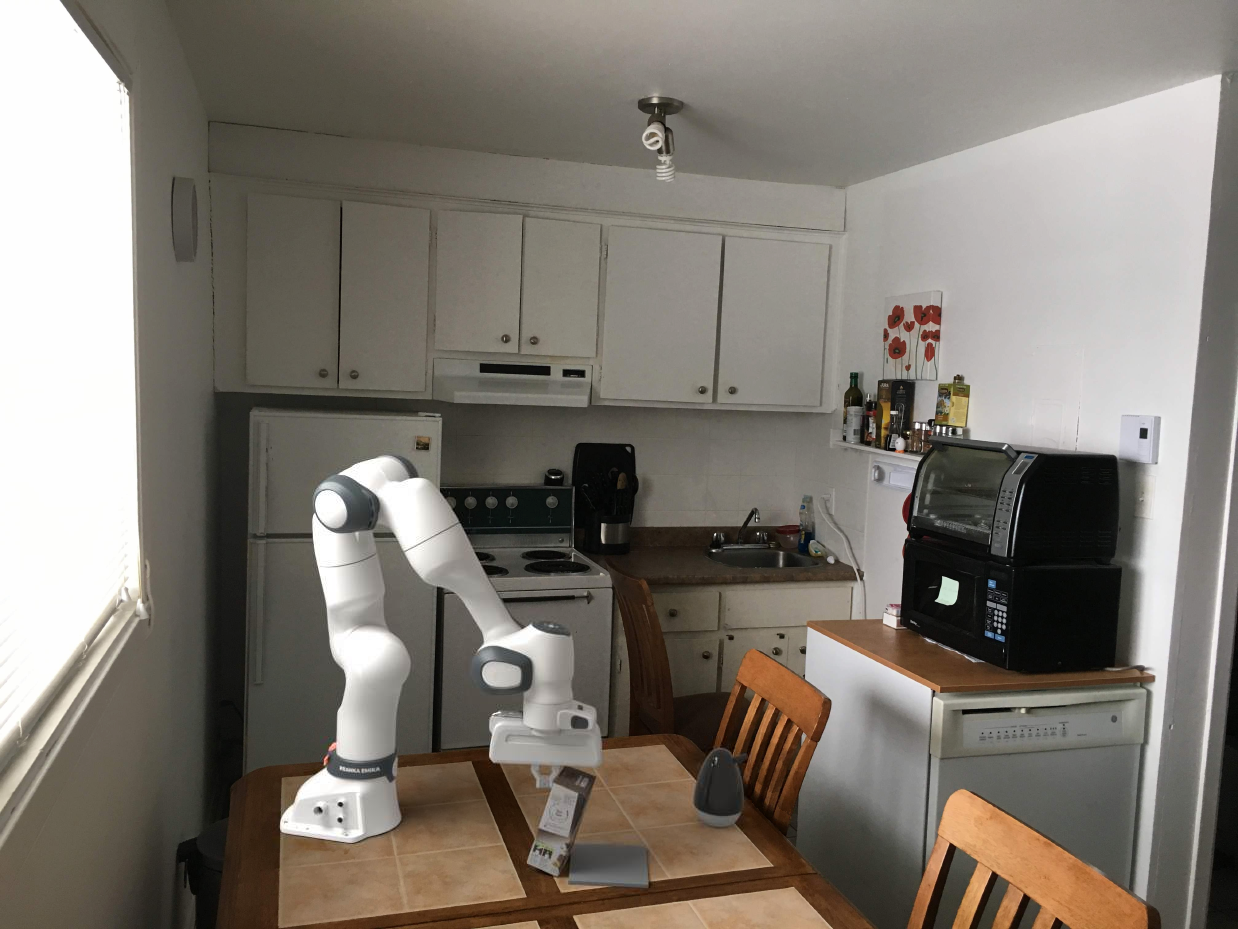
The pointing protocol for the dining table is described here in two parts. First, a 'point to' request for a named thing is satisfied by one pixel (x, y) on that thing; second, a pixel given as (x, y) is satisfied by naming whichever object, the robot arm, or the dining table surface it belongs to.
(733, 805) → the pump dispenser
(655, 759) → the dining table surface
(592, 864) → the mat
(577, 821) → the coffee box
